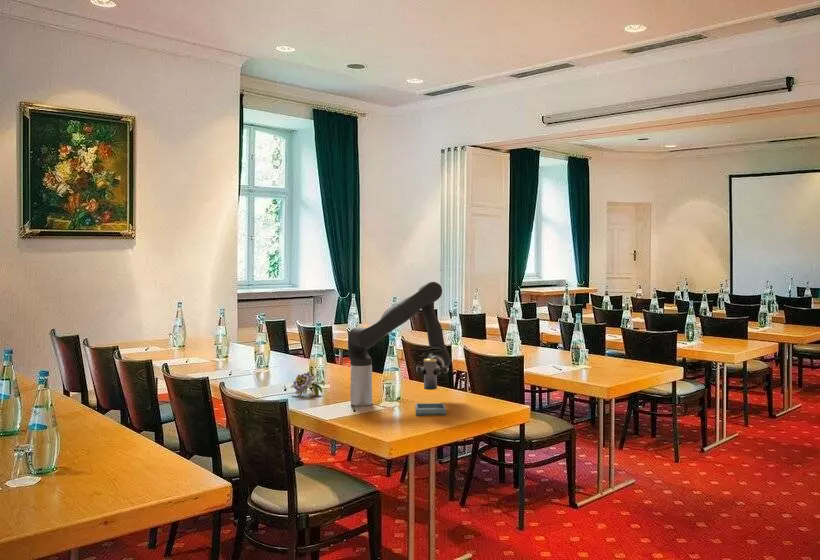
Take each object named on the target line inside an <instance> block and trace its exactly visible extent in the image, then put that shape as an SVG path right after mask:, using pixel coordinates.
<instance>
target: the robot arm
mask: <svg viewBox="0 0 820 560" xmlns="http://www.w3.org/2000/svg"><path fill="white" fill-rule="evenodd" d="M442 294H443V288H442V286H441V284H440V283H438V282H437V281H427V282H426V283H425V284H423V285H422V286H421V287H419V288H418V291H416V292H415V293H413V294H412V295H409V296H408V297H405V298H403V299H401V300H399V301H398V302H396V303H394V304H393V305H391V306H390V307H388V308H387V309H386V310H385V311H384V312H383V314H382V315H381V317H380V319H378V320H377V322H375V323H373V324H372V325H369V326H368V327H360V326H356V327H353V328H352V329H350V331H349V332H348V335H347V336H348V337H347V349H348V351H347V352H348V359H349V360H350V391H349V392H350V406H355V407H362V406H363V407H367V406H370V405H373V359H372V357H371V356H370V355H369V352H368V349H370V348H372V347H373V346H375V345H376V344H378V342H379V341H380V340H382V339H383V338H384V337H385V336H387V335H388V334H389V333H391V332H392V331H394V330H396V329H397V328H398V327H400V326H402V325H403V324H404V323H406V322H408V321H409V320H410V319H411V318H412V317H414V316H415V315H416V314H417V313H418V312H419V311H421V313H422V316H423V318H424V323H425V327H426V333H427V342H428V346H429V348H432V349H439V350H441V351H438V352H432V353H429V354H428V355H427V358H434V359H437V369H436V375H437V376H439V375H441V374H443V375H445V374H447V373H449V372H450V371H449V370H450V369H449V366H450V365H451V362H452V359H451V356H450V353H449V351H448V349H447V346H446V344H445V338H444V332H443V328H442V325H441V323H440V320H439V319H438V317H437V315H436V311H435V302H437V301H439V299H440V298H441V296H442ZM427 358H426V359H427ZM416 373H417V374H418V375H419V374H420V375H422V376H424V365H423V366H421V365H419V364H417V365H416Z"/></svg>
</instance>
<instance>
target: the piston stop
mask: <svg viewBox="0 0 820 560" xmlns="http://www.w3.org/2000/svg"><path fill="white" fill-rule="evenodd" d="M423 366H424V375H423V389H424V390H427V391H428V390H429V391H430V390H431V391H432V390H437V389H438V378H437V377H438V375H436V369H437V359H434V358H424V359H423Z"/></svg>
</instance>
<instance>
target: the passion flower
mask: <svg viewBox="0 0 820 560" xmlns="http://www.w3.org/2000/svg"><path fill="white" fill-rule="evenodd" d="M314 379H317V375H316V374H315V375H311V370H308V371H307V372H304V373H303V374H298V375H297V376H296V378H295V379H294V381H293V384H292V385H290V388H292V389H295V395H297V394H298V395H297V397H298V396H300V397H301V396H302V394H303V395H306V394H307V391H308V389H309V390H310V391H311V393H314V395H315V396H316V397H317V398H318V397H319V394H321V395H322V393H323V389H322V387H321V386H320V385H319V383H322V384H323V385H322V386H323V387H324V386H325V381H324V380H320V381H318V382H316V381H315V380H314ZM319 391H320V393H319Z"/></svg>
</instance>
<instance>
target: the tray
mask: <svg viewBox="0 0 820 560" xmlns="http://www.w3.org/2000/svg"><path fill="white" fill-rule="evenodd" d="M414 406H415V416H417V417H422V416H424V417H426V416H427V415H441V416H447V408H446V406H445V403H443V402H439V403H437V402H435V403H434V402H432V403H431V402H429V403H427V402H426V403H421V402H420V403H415V405H414Z"/></svg>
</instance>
